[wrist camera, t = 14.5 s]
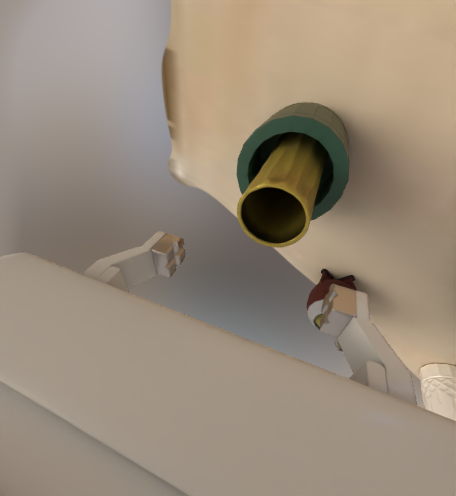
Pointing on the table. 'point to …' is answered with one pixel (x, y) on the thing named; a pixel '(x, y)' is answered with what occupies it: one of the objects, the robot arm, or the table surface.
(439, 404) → the white cup
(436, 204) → the table surface
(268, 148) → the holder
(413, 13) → the table surface
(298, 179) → the vase
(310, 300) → the mate gourd
